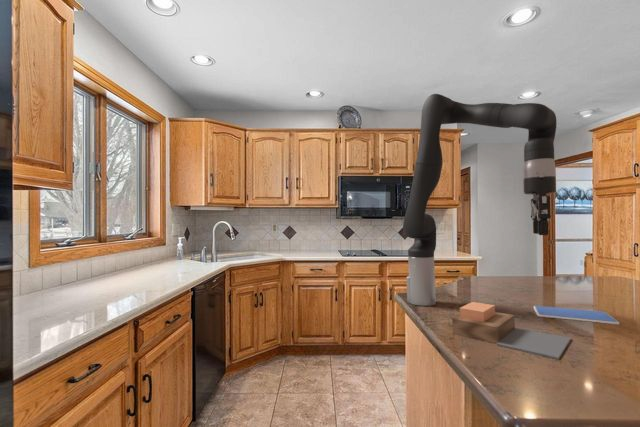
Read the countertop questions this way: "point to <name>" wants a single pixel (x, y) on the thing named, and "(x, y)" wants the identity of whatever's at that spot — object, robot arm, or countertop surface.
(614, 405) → the countertop surface
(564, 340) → the mat
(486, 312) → the orange rectangular block
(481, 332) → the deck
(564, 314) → the tablet computer
